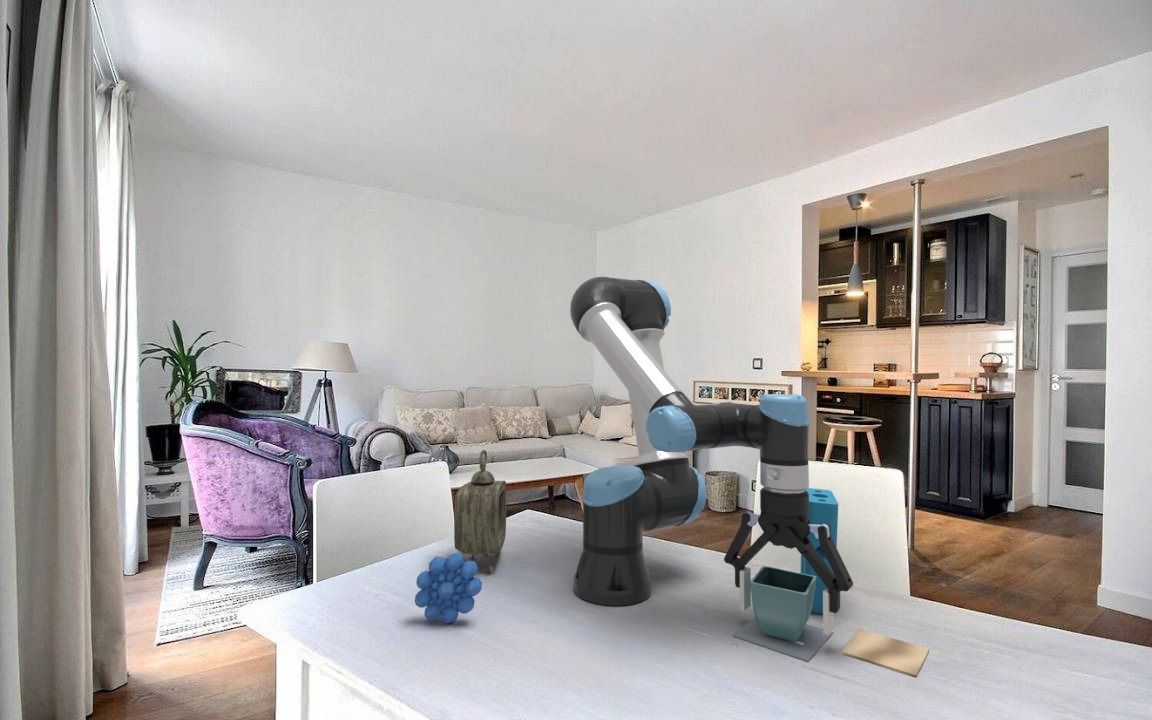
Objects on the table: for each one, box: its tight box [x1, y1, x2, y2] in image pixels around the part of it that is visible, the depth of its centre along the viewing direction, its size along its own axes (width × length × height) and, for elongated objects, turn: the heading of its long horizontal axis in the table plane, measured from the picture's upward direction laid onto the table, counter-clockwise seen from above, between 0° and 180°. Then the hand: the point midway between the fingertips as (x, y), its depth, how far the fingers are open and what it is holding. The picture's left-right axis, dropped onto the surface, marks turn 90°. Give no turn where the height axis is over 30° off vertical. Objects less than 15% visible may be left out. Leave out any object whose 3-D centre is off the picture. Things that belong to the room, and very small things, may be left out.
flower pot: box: [750, 565, 816, 642], centre depth 93 cm, size 9×9×9 cm
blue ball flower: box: [414, 552, 483, 624], centre depth 98 cm, size 12×7×12 cm, turn 85°
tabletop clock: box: [453, 449, 507, 574], centre depth 125 cm, size 14×9×25 cm, turn 179°
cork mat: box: [841, 628, 930, 678], centre depth 88 cm, size 10×10×1 cm
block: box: [800, 487, 839, 615], centre depth 105 cm, size 12×5×20 cm, turn 162°
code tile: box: [732, 616, 834, 663], centre depth 93 cm, size 12×12×1 cm
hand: (785, 619), depth 93 cm, fingers open, 13 cm apart
